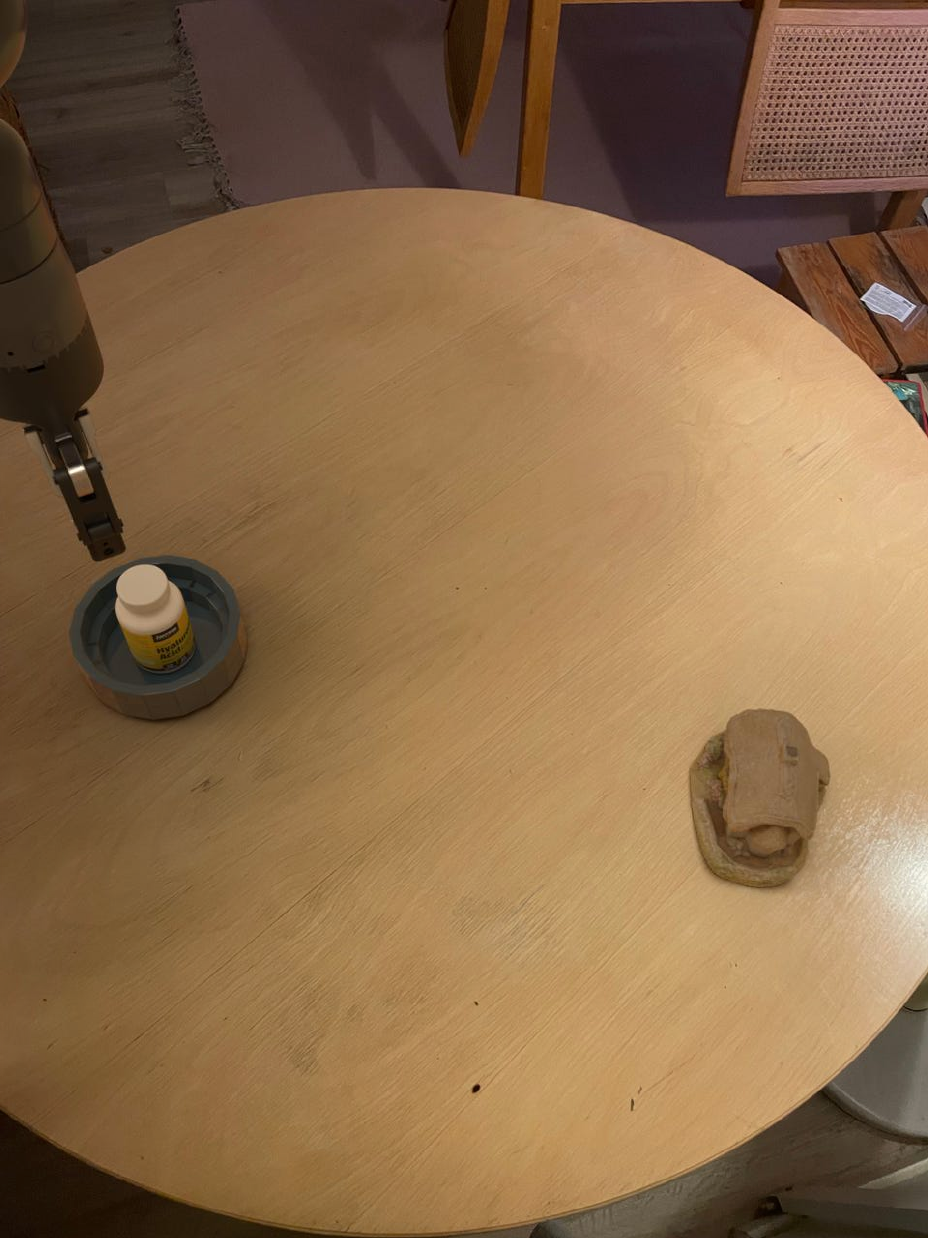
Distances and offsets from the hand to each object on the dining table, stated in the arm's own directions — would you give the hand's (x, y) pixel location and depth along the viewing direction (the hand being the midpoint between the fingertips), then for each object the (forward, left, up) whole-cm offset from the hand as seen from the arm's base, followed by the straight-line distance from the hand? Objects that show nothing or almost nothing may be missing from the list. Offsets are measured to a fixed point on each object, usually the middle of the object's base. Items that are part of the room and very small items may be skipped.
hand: (90, 508), depth 70 cm
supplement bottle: (+1, +3, -23) cm, 23 cm away
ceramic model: (+43, -27, -24) cm, 56 cm away
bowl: (+1, +3, -23) cm, 23 cm away
